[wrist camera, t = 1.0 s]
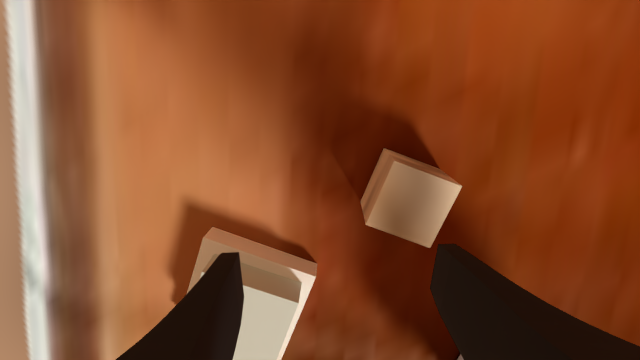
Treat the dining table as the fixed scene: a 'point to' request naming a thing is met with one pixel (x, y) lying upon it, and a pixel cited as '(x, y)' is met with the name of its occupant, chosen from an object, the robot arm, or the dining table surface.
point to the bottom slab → (258, 265)
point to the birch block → (408, 198)
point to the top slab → (264, 312)
